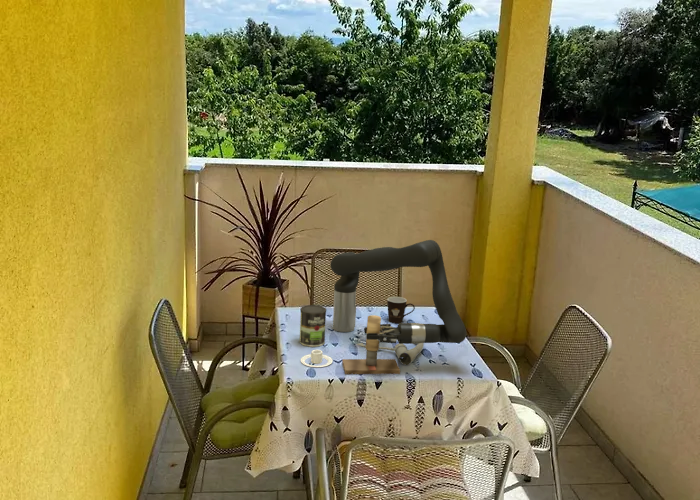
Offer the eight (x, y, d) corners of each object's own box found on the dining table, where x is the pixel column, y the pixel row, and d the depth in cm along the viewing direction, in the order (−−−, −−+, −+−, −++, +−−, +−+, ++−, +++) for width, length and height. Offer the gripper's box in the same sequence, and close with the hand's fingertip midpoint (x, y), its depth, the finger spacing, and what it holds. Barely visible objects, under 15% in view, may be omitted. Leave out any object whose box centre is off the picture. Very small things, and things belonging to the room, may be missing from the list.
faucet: (346, 356, 263) (378, 335, 286) (411, 366, 249) (439, 343, 273) (345, 345, 262) (377, 325, 286) (410, 353, 248) (439, 331, 272)
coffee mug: (382, 321, 297) (383, 299, 294) (392, 316, 304) (393, 295, 301) (404, 327, 290) (406, 305, 288) (414, 322, 297) (416, 301, 295)
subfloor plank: (345, 374, 241) (345, 369, 240) (342, 363, 250) (342, 358, 250) (399, 373, 243) (400, 369, 243) (394, 362, 253) (395, 358, 252)
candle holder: (301, 355, 256) (301, 344, 255) (332, 356, 257) (332, 345, 256) (299, 368, 245) (300, 357, 244) (332, 369, 245) (333, 358, 244)
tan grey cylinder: (369, 360, 249) (372, 314, 245) (380, 363, 247) (383, 317, 243) (362, 364, 245) (365, 317, 242) (373, 367, 243) (376, 320, 239)
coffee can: (328, 345, 266) (330, 312, 263) (304, 348, 263) (305, 314, 259) (320, 336, 276) (321, 303, 272) (296, 338, 272) (297, 305, 268)
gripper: (408, 317, 251) (363, 316, 249) (416, 330, 237) (368, 330, 235) (406, 335, 253) (362, 335, 251) (414, 350, 239) (367, 350, 237)
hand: (365, 333), depth 243 cm, fingers open, 5 cm apart
